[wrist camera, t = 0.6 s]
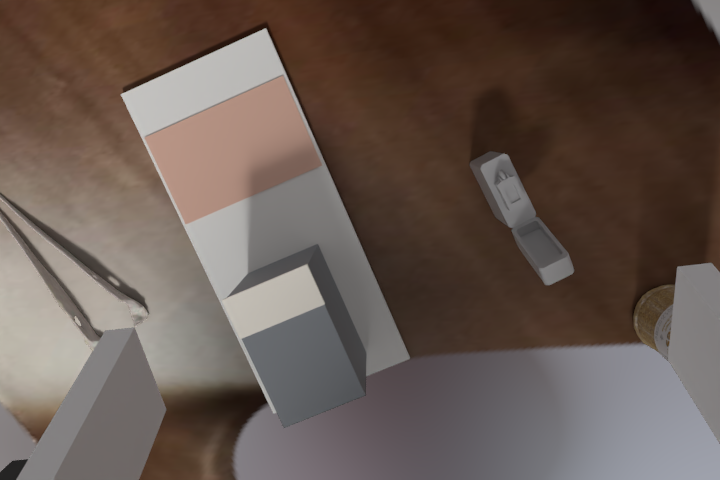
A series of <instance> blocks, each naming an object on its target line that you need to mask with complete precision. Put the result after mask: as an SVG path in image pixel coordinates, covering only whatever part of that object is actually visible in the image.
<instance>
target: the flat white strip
mask: <svg viewBox="0 0 720 480" xmlns="http://www.w3.org/2000/svg"><path fill="white" fill-rule="evenodd" d="M121 96H122V98H123V100H124V102H125V104H126V106H127V108H128V110H129V113H130V115H131V117H132V119H133V121H134V123H135V125H136V127H137V129H138V131H139V134H140V136H141V138H142V140H143V142H144V144H145V146H146V148H147V150H148V152H149V154H150V157H151V159H152V161H153V163H154V165H155V167H156V169H157V171H158V173H159V175H160V177H161V180H162V182H163V184H164V186H165V188H166V190H167V192H168V194H169V196H170V198H171V200H172V203H173V205H174V207H175V209H176V211H177V213H178V215H179V217H180V219H181V221H182V224H183V226H184V228H185V230H186V232H187V234H188V236H189V238H190V240H191V242H192V244H193V247H194V249H195V251H196V253H197V255H198V257H199V259H200V261H201V263H202V265H203V267H204V270H205V272H206V274H207V276H208V278H209V280H210V282H211V284H212V286H213V288H214V291H215V293H216V295H217V297H218V299H219V301H220V303H221V305H222V307H223V309H224V311H225V314H226V316H227V318H228V320H229V322H230V324H231V326H232V328H233V330H234V332H235V334H236V337H237V339H238V341H239V343H240V345H241V347H242V349H243V351H244V353H245V355H246V357H247V360H248V362H249V364H250V366H251V368H252V370H253V372H254V374H255V376H256V378H257V381H258V383H259V385H260V387H261V389H262V391H263V393H264V395H265V397H266V399H267V401H268V404H269V406H270V408H271V410H272V412H273V414H274V413H277V412H276V410H275V408H274V406H273V404H272V402H271V400H270V398H269V395H268V393H267V391H266V389H265V387H264V385H263V383H262V381H261V379H260V377H259V374H258V372H257V370H256V368H255V366H254V364H253V362H252V360H251V358H250V356H249V353H248V351H247V349H246V347H245V345H244V343H243V341H242V339H240V338H239V336H238V334H237V332H236V330H235V328H234V325H233V323H232V321H231V319H230V317H229V315H228V313H227V311H226V309H225V307H224V304H223V302H222V299H225V298H227V297H228V296H229V294H230V293H231V292H232V291H233V290H234V289H235V288H236V286H237V285H238V284H239V283H240V282H241V281H242V279H243V278H244V277H245V276H246V275H247V274H248V273H250V272H252V271H255V270H257V269H259V268H262V267H264V266H266V265H269V264H271V263H274V262H276V261H278V260H281V259H283V258H285V257H288V256H290V255H292V254H295V253H297V252H300V251H302V250H304V249H307V248H309V247H311V246H314V245H316V244H318V245H319V247H320V250H321V252H322V254H323V256H324V259H325V261H326V263H327V265H328V268H329V270H330V272H331V274H332V277H333V279H334V281H335V283H336V286H337V288H338V290H339V292H340V294H341V297H342V299H343V301H344V303H345V306H346V308H347V310H348V312H349V315H350V317H351V319H352V321H353V324H354V326H355V328H356V330H357V333H358V335H359V337H360V339H361V342H362V344H363V346H364V348H365V350H366V353H367V358H366V376H369V375H371V374H374V373H376V372H379V371H381V370H384V369H386V368H389V367H391V366H394V365H396V364H399V363H401V362H404V361H406V360H409V359H410V356H409V354H408V352H407V349H406V347H405V345H404V342H403V340H402V338H401V335H400V333H399V331H398V329H397V326H396V324H395V322H394V319H393V317H392V315H391V313H390V310H389V308H388V306H387V303H386V301H385V299H384V296H383V294H382V292H381V290H380V287H379V285H378V283H377V280H376V278H375V276H374V274H373V271H372V269H371V267H370V264H369V262H368V260H367V257H366V255H365V253H364V251H363V248H362V246H361V244H360V241H359V239H358V237H357V235H356V232H355V230H354V228H353V225H352V223H351V221H350V219H349V216H348V214H347V212H346V209H345V207H344V205H343V202H342V200H341V198H340V196H339V193H338V191H337V189H336V186H335V184H334V182H333V180H332V177H331V175H330V173H329V170H328V168H327V166H326V163H325V161H324V159H323V157H322V154H321V152H320V150H319V147H318V145H317V143H316V141H315V138H314V136H313V134H312V131H311V129H310V127H309V124H308V122H307V120H306V118H305V115H304V113H303V111H302V108H301V106H300V104H299V102H298V99H297V97H296V95H295V92H294V90H293V88H292V86H291V83H290V81H289V79H288V76H287V74H286V72H285V69H284V67H283V65H282V63H281V60H280V58H279V56H278V53H277V51H276V49H275V47H274V44H273V42H272V40H271V37H270V35H269V33H268V30H267V29H266V28H265V29H263V30H261V31H258V32H256V33H254V34H252V35H250V36H248V37H245V38H243V39H241V40H239V41H237V42H234V43H232V44H230V45H228V46H226V47H223V48H221V49H219V50H217V51H215V52H212V53H210V54H208V55H206V56H204V57H202V58H199V59H197V60H195V61H193V62H191V63H188V64H186V65H184V66H182V67H180V68H177V69H175V70H173V71H171V72H169V73H166V74H164V75H162V76H160V77H158V78H156V79H153V80H151V81H149V82H147V83H145V84H142V85H140V86H138V87H136V88H134V89H131V90H129V91H127V92H125V93H123V94H121Z"/></svg>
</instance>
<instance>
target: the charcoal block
mask: <svg viewBox="0 0 720 480" xmlns="http://www.w3.org/2000/svg"><path fill="white" fill-rule="evenodd" d="M222 302H223V304H224V307H225V309H226V311H227V313H228V315H229V317H230V319H231V321H232V323H233V325H234V328H235V330H236V332H237V334H238V336H239V338H240V339H242V341H243V343H244V345H245V347H246V349H247V351H248V353H249V356H250V358H251V360H252V362H253V364H254V366H255V368H256V370H257V372H258V374H259V377H260V379H261V381H262V383H263V385H264V387H265V389H266V391H267V393H268V395H269V398H270V400H271V402H272V404H273V406H274V408H275V410H276V412H277V414H278V416H279V418H280V421H281V422H282V425H283V427H284V428H285V427H288V426H290V425H293V424H295V423H298V422H300V421H303V420H305V419H308V418H310V417H313V416H315V415H318V414H320V413H323V412H325V411H328V410H330V409H333V408H335V407H338V406H340V405H343V404H345V403H348V402H350V401H353V400H355V399H358V398H360V397H363V396H365V395H366V358H367V353H366V350H365V348H364V346H363V344H362V342H361V339H360V337H359V335H358V333H357V330H356V328H355V326H354V324H353V321H352V319H351V317H350V315H349V312H348V310H347V308H346V306H345V303H344V301H343V299H342V297H341V294H340V292H339V290H338V288H337V286H336V283H335V281H334V279H333V277H332V274H331V272H330V270H329V268H328V265H327V263H326V261H325V259H324V256H323V254H322V252H321V250H320V247H319V245H318V244H316V245H314V246H311V247H309V248H307V249H304V250H302V251H300V252H297V253H295V254H292V255H290V256H288V257H285V258H283V259H281V260H278V261H276V262H274V263H271V264H269V265H266V266H264V267H262V268H259V269H257V270H255V271H252V272H250V273H248V274H247V275H246V276H245V277H244V278H243V279H242V281H241V282H240V283H239V284H238V285H237V286H236V288H235V289H234V290H233V291H232V292H231V293H230V294H229V296H228V297H227V298H225V299H222Z"/></svg>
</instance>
